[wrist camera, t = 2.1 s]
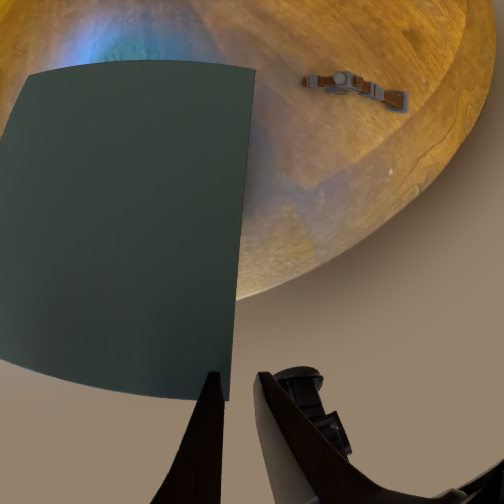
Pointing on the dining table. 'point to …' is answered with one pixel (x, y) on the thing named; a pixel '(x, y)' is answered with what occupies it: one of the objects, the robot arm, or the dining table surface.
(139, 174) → the lid
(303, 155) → the dining table surface
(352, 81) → the toy rocket launcher
